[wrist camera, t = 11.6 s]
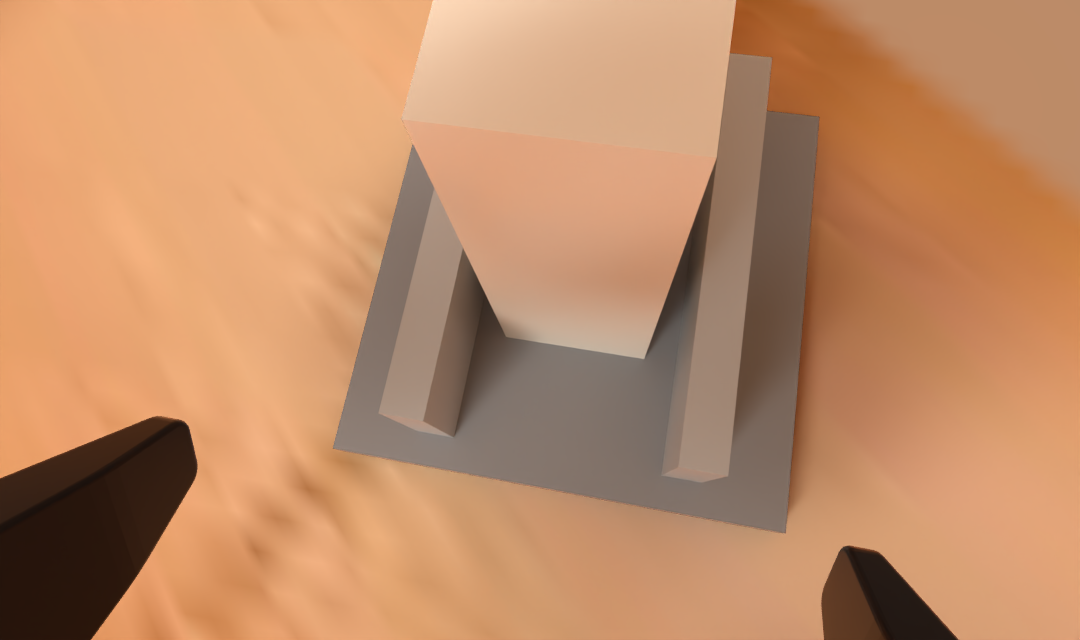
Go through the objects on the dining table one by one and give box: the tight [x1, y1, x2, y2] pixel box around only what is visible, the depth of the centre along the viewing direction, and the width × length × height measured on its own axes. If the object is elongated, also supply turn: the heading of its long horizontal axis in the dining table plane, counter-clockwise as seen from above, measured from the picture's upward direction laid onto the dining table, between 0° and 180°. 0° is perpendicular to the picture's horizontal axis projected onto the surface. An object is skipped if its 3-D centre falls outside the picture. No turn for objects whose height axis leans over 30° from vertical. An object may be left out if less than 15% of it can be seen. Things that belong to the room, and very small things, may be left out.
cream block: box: [401, 0, 736, 359], centre depth 16 cm, size 5×4×12 cm
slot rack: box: [333, 53, 819, 533], centre depth 20 cm, size 14×14×5 cm
